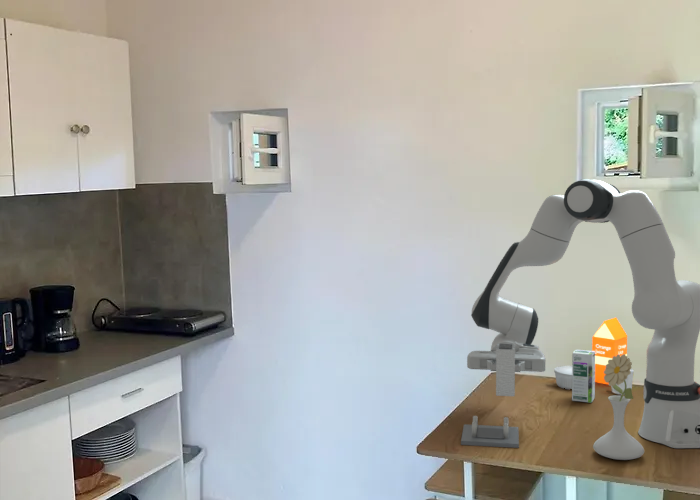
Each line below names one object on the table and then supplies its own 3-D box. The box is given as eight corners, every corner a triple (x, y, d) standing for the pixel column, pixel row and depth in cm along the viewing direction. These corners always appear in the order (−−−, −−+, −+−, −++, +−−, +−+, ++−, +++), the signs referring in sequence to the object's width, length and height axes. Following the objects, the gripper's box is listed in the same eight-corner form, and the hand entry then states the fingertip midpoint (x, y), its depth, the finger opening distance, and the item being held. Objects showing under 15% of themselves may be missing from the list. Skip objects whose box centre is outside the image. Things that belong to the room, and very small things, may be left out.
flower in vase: (587, 447, 188) (588, 346, 186) (635, 447, 187) (637, 345, 185) (601, 467, 175) (603, 358, 173) (653, 467, 174) (655, 358, 172)
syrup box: (571, 401, 226) (571, 352, 225) (575, 395, 232) (576, 348, 230) (591, 403, 224) (592, 354, 222) (595, 398, 229) (595, 350, 228)
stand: (518, 430, 201) (518, 413, 200) (518, 447, 188) (518, 429, 188) (464, 428, 204) (464, 411, 203) (460, 444, 191) (460, 427, 191)
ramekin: (586, 392, 235) (586, 375, 235) (549, 388, 241) (549, 371, 240) (594, 384, 245) (594, 367, 244) (559, 380, 250) (559, 364, 250)
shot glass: (630, 396, 230) (631, 373, 230) (607, 393, 234) (607, 370, 233) (635, 390, 236) (635, 368, 235) (612, 387, 240) (612, 365, 239)
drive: (514, 389, 201) (515, 343, 200) (514, 396, 195) (514, 348, 194) (496, 389, 202) (496, 343, 201) (496, 395, 196) (496, 348, 195)
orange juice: (591, 381, 248) (592, 319, 246) (604, 376, 254) (605, 316, 252) (614, 385, 242) (615, 322, 240) (627, 380, 248) (628, 318, 247)
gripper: (467, 343, 212) (464, 355, 199) (544, 345, 208) (546, 357, 194) (467, 366, 213) (464, 379, 199) (544, 368, 209) (546, 382, 195)
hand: (505, 368), depth 197 cm, fingers closed on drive, 5 cm apart
